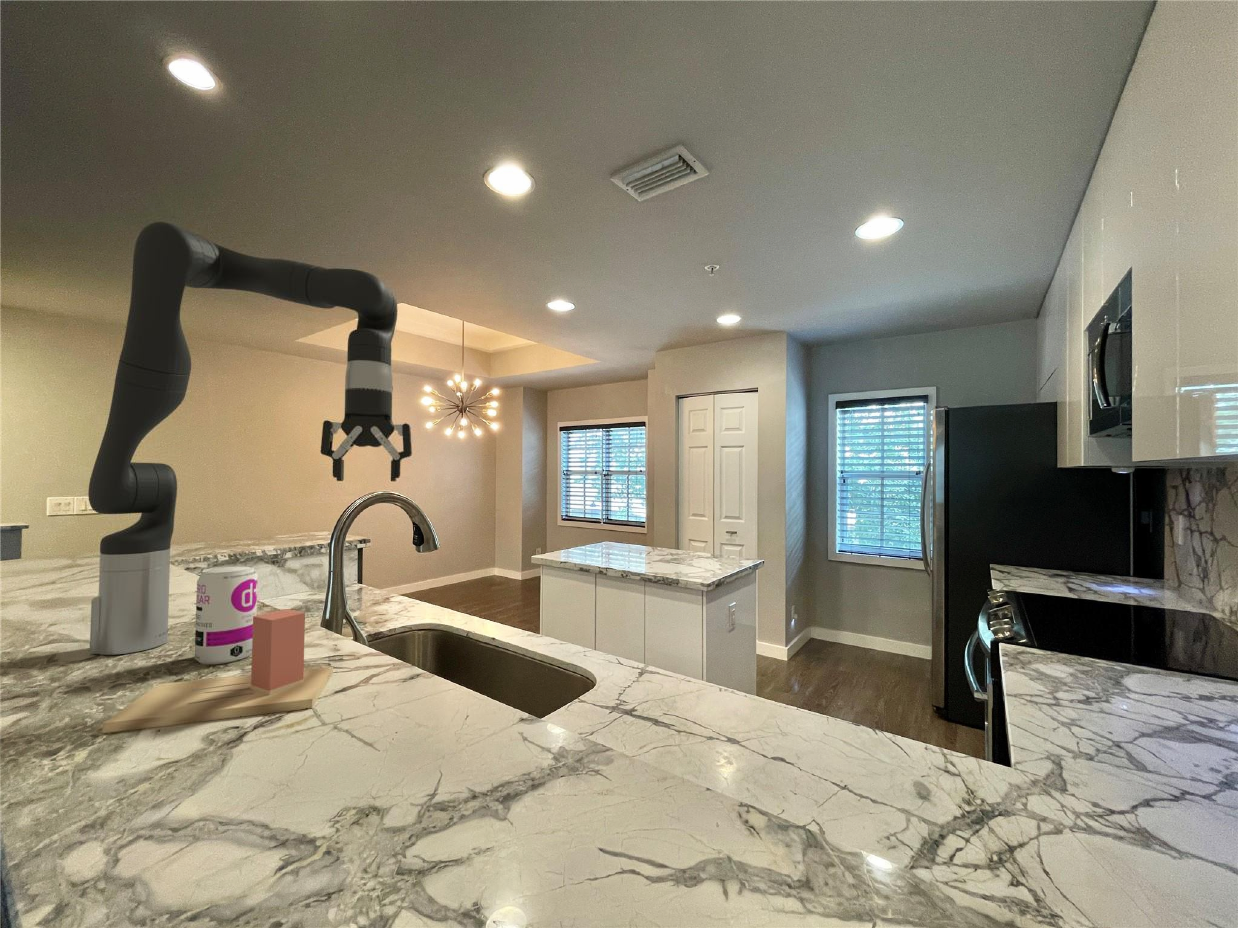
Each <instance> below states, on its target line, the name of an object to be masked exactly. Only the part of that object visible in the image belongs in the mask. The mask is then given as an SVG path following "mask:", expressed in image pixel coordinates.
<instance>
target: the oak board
mask: <svg viewBox="0 0 1238 928" xmlns="http://www.w3.org/2000/svg"><path fill="white" fill-rule="evenodd" d="M333 671H334V667H333V666H326V667H315V668H306V669H305V668H304V674H303V679H304V683H302V684H299V685H296V686H294V687H291V688H288V689H285V690H282V691H279V692H277V693H274V694H271V695H268V694H265V693H262V692H259V691H256V690H253V689H250V685H251V674H247V675H237V676H234V675H233V676H225V677H217V678H207V679H196V680H195V679H194V680H187V681H186V680H185V681H184V680H183V681H177V682H166V683H158V684H156V686H154V687H152V688H151V689H150V690H148V691H146V692H145V693H144V694H142V695H141V696H139V697H138V698H136V699H135V700H134V701H132V702H131V703H130V704H128V705H126V706H125V707H123V708H122V709H121V710H120V711H118V712H117V713H115V714H113V715H112V716H111V717H109V718H108V719H106V720H105V721H104V722H102V727H101V728H102V730H101V731H102V732H101V733H102V734H107V733H116V732H126V731H133V730H141V729H142V730H143V729H150V728H157V727H159V728H160V727H165V726H174V725H182V724H190V723H198V722H208V721H216V720H224V719H232V718H238V717H239V718H240V716H241V717H247V716H250V717H251V716H256V715H257V716H258V715H264V714H274V713H282V712H289V711H297V710H298V711H299V710H306V708H307V709H313V708H314V706H315V704H316V702H317V701H318V699H319V698H320V696H321V695H322V692H323V691H324V690H325V688H326V686H327V685H328V683H329V681H330V680H331V678H332V677H333V674H334V672H333Z"/></svg>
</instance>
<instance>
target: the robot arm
mask: <svg viewBox="0 0 1238 928" xmlns="http://www.w3.org/2000/svg"><path fill="white" fill-rule="evenodd" d="M132 263H133V264H132V275H131V293H130V304H129V309H128V316H127V322H126V327H125V335H124V338H123V344H122V348H121V352H120V355H119V360H118V363H117V364H118V365H117V369H116V374H115V379H114V385H113V391H112V399H111V403H110V409H109V414H108V418H107V419H108V420H107V421H106V422H107V423H106V426H105V431H104V434H103V437H102V440H101V443H100V446H99V449H98V453H97V456H96V459H95V462H94V465H93V468H92V471H91V475H90V478H89V485H88V491H87V492H88V502H89V505H90V507H91V509H92V510H93V511H94V512H96V513H97V514H100V515H127V514H141V515H140V517H139V519H138V520H137V521H136V522H135V523H134V524H132V525H130V526H128V527H125V528H124V529H122V530H119V531H115V532H113V533H110V534H108V535H105V536H103V537H102V538H101V539H100V545H99V567H98V569H99V572H98V596H96V597H93V598H92V599H91V603H90V604H91V605H90V630H89V631H90V634H89V635H90V636H89V655H95V654H96V655H103V656H104V655H105V656H109V655H111V656H112V655H122V654H130V653H137V652H141V651H147V650H150V649H151V650H152V649H153V648H157V647H160V646H163V645H164V644H165V643H167V642H168V641H169V640H168V638H169V637H168V633H169V608H170V607H169V606H170V573H171V572H170V570H171V569H170V568H171V567H170V566H171V565H170V564H171V545H172V544H171V543H172V541H171V540H172V537H173V533H174V528H175V516H176V515H175V514H176V505H177V497H178V496H177V495H178V479H177V476H176V471H175V470H174V469H173V467H172V466H170V465H169V464H166V463H162V462H161V463H160V462H137V461H136V462H132V460H133V457H134V455H135V452H136V450H137V449H138V447H139V446H140V443H141V442H142V441H143V439H144V438H145V437H146V436H147V435H148V434H149V433H150V432H151V431H153V429H155V428H156V427H157V426H158V425H159V424H161V423H162V422H163V421H164V420H166V418H168V417H170V415H171V414H172V413H173V412H175V410H177V408H178V407H179V406H181V404H182V403H183V401H184V399H185V397H186V393H187V389H188V387H189V386H188V385H189V380H190V376H191V372H192V357H191V352H190V350H189V346H188V343H187V339H186V337H185V334H184V331H183V327H182V324H181V323H182V322H181V306H182V301H183V296H184V292H185V288H186V287H187V288H188V287H189V288H191V289H214V290H234V291H243V292H249V293H256V294H259V295H264V296H268V297H272V298H275V299H279V300H282V301H287V302H291V303H295V304H300V305H305V306H310V307H315V308H320V309H326V310H330V309H334V308H336V307H339V308H343V309H344V308H345V309H348V310H351V311H354V312H356V313H357V324H356V329H353V330H352V331H350V333H349V335H348V337H347V355H346V359H347V361H346V362H347V363H346V370H345V376H344V377H345V380H344V383H345V384H344V417H343V420H342V422H335V421H330V420H327V419H326V420H324V421H323V423H322V431H321V444H320V454H321V455H323V456H326V457H329V458H331V459H332V477H333V478H336V482H343V481H344V479H345V477H344V476H345V474H344V473H345V459H343V458H344V457H345V456H346V454H347V453H348V452H350V450H352V449H353V447H355V446H357V448H358V447H359V448H365V447H371V448H379V447H381V446H382V447H383V448H384V449H385V450H386V452H387V453H388V454H389V455H390V456H391V458H392V459H391V460H390V482H397V479H400V477H401V463H402V462H401V461H402V460H404V459H407V458H411V456H412V454H413V452H412V432H411V431H412V430H411V429H412V428H411V426H410V424H409V423H406V422H405V423H403V424H394V422H393V417H392V415H393V390H394V385H393V374H392V373H393V372H392V341H393V338H394V334H395V330H396V326H397V320H398V301H397V298H396V296H395V294H394V293H393V292H392V290H391V289H390V288H389V287H388V286H387V285H386V284H385V283H384V282H383V281H382V279H380V278H379V277H378V276H376V275H374V274H372V273H369V272H367V271H364V270H359V269H355V268H354V269H353V268H338V267H336V268H327V267H323V266H319V265H315V264H310V263H306V262H300V261H296V260H290V259H283V258H266V257H258V256H257V257H256V256H252V255H247V254H244V253H241V252H237V251H235V250H232V249H230V248H227V247H225V246H222V245H220V244H217V243H215V242H212V241H210V240H209V239H207V237H206V238H205V237H204V236H202V235H200V234H198V233H194V231H193V232H192V231H190V230H187V229H185V228H182V227H180V226H178V225H176V224H172V223H170V222H166V221H156V222H152V223H149V224H148V225H146V226H145V227H144V228H142V230H141V231H140V232H139V234H138V236H137V238H136V241H135V245H134V251H133V261H132ZM339 430H342V431H343V433H344V434H345V435H346V437H345V439H343V441H342V442H341V443H340V445H339V446H338V447H337V449H336V450H333V441H334V435H336V434H338V432H339ZM395 431H397V434H398V435H399V436H400V437H402V451H399V452H398V450H397V448H396V447H395V446H394V444H392V442H391V441H390V440H389V438H390V437H391V435H392V434H393V433H394V432H395Z"/></svg>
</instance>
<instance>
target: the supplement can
mask: <svg viewBox="0 0 1238 928" xmlns="http://www.w3.org/2000/svg"><path fill="white" fill-rule="evenodd" d="M258 577H259V575H258V573H257V571H256V569H255V568H254V565H246V564H245V565H241V564H239V565H238V564H237V565H224V566H217V567H211V568H206V569H203V570H202V571H201V574H200V575H199V577H198V578H197V580H196V600H195V602H196V603H195V605H196V606H195V607H196V608H195V633H194V636H195V637H194V659H195V661H197V662H199V664H202V665H206V666H207V665H221V664H228V663H232V662H236V661H239V660H243V659H245V658H248V657H249V656H250V655H251V656H252V637H253V616H256V615H258V614H257V612H258V611H257V609H258V607H257V606H258Z"/></svg>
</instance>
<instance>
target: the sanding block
mask: <svg viewBox="0 0 1238 928" xmlns="http://www.w3.org/2000/svg"><path fill="white" fill-rule="evenodd" d="M305 628H306V612H303V611H299V610H293V609H289V608H284V609H280V610H275V611H271V612H266V613H261V614H257V615H256V616H253V637H252V652H251V669H250V670H251V671H250V672H251V673H250V675H251V685H250V689H253V690H256V691H259V692H262V693H265V694H268V695H271V694H274V693H277V692H279V691H282V690H285V689H288V688H291V687H294V686H296V685H299V684H302V683H304V679H303V674H304V670H305V666H304V665H305V662H304V661H305V635H306V634H305V630H306V629H305Z"/></svg>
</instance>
